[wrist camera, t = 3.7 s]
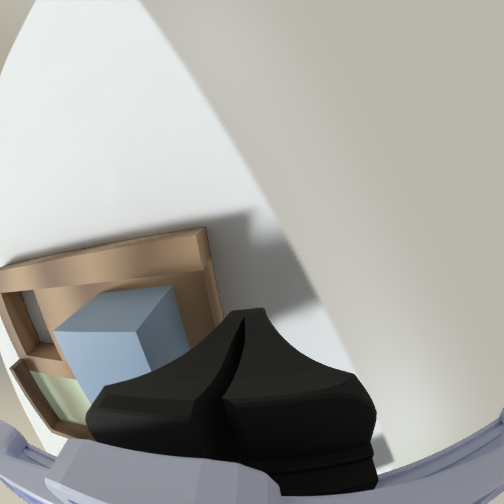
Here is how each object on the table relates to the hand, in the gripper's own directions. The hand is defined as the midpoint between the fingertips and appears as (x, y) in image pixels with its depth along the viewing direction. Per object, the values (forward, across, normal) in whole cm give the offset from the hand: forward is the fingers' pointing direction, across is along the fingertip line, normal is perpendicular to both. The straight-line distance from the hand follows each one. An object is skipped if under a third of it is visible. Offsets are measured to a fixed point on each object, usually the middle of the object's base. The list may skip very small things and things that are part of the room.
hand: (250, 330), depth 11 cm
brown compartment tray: (+3, +10, +3) cm, 11 cm away
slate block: (+1, +5, 0) cm, 5 cm away
